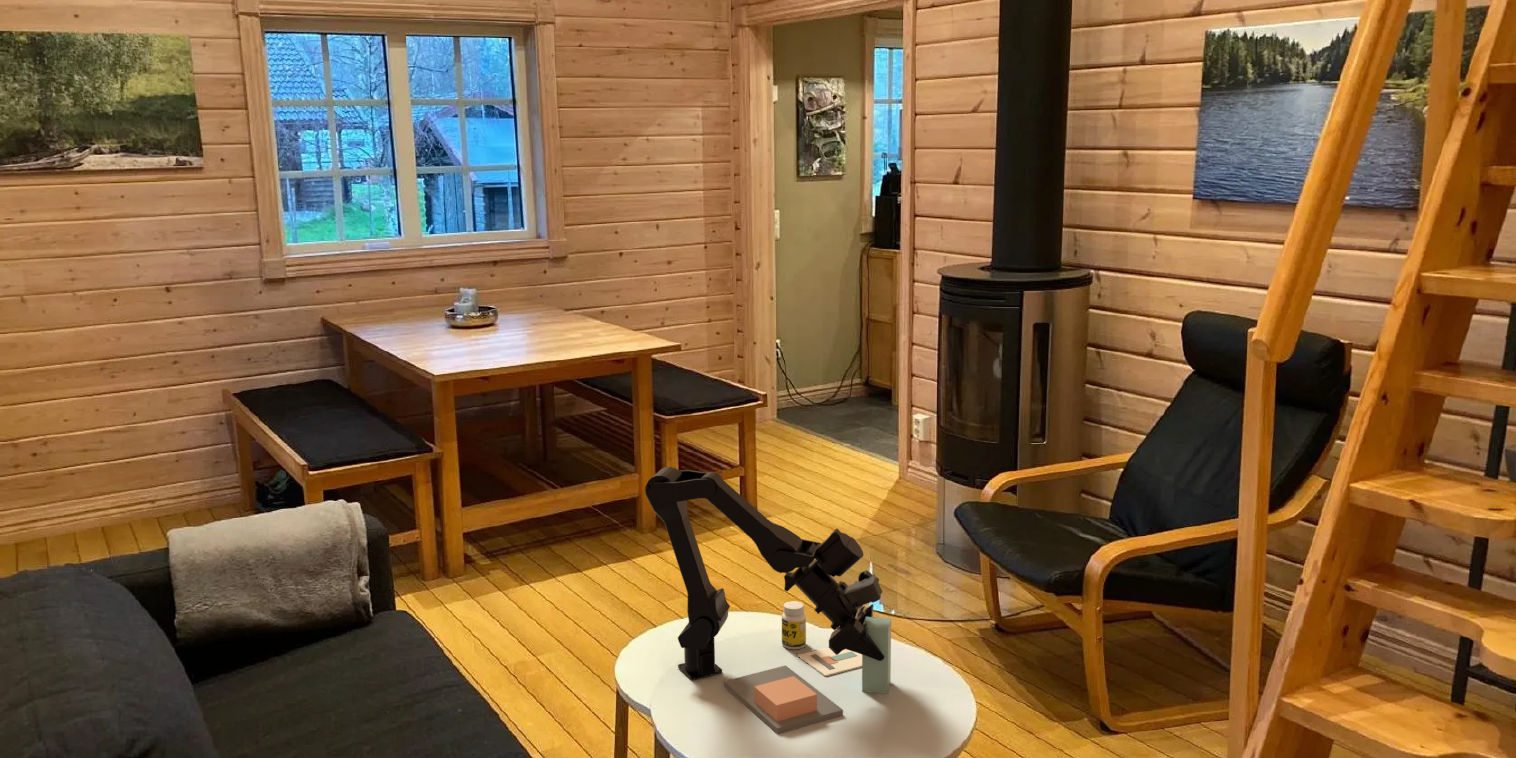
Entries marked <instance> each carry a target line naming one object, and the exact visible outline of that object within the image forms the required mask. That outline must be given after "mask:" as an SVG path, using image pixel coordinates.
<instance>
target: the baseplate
mask: <svg viewBox="0 0 1516 758" xmlns="http://www.w3.org/2000/svg"><path fill="white" fill-rule="evenodd" d="M723 687H724V688H725V689H726V690H728V692H729V693H731V694H732V695H733V696H734V697H735V698H737V700H739V701H740V702H741V703H742V704H744V706H746V707H747V708H748V709H749V710H750V711H751V712H752V713H753V714H755V715H756V716H757V717H758V718H759V719H760V720H761V721H763V722H764V723H765V724H766V725H767V726H768V727H769V728H770V729H771V730H773V731H774V732H775V733H776V734H781V733H784V732H788V731H792V730H795V729H799V728H802V727H806V726H809V725H813V724H816V723H819V722H823V721H824V722H825V721H827V720H831V719H833V718H837V717H840V716H843V715H844V709H843V708H842V707H840V706H839V705H837V704H836V703H835V702H834V701H832V699H830V698H829V697H827V696H826V695H825V694H823V692H820V691H819V690H818V689H817V688H815V686H813V685H812V684H810V683H809V682H808V681H807V680H806V679H804V678H803V677H802V676H800V675H799V674H798V673H796V672H795V671H793V669H792V668H790V667H789V666H787V665H782V666H777V667H774V668H770V669H767V670H763V671H758V672H755V673H750V674H746V675H742V676H739V677H735V678H734V677H733V678H731V679H727V680H726V679H725V680H724V681H723Z"/></svg>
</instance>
